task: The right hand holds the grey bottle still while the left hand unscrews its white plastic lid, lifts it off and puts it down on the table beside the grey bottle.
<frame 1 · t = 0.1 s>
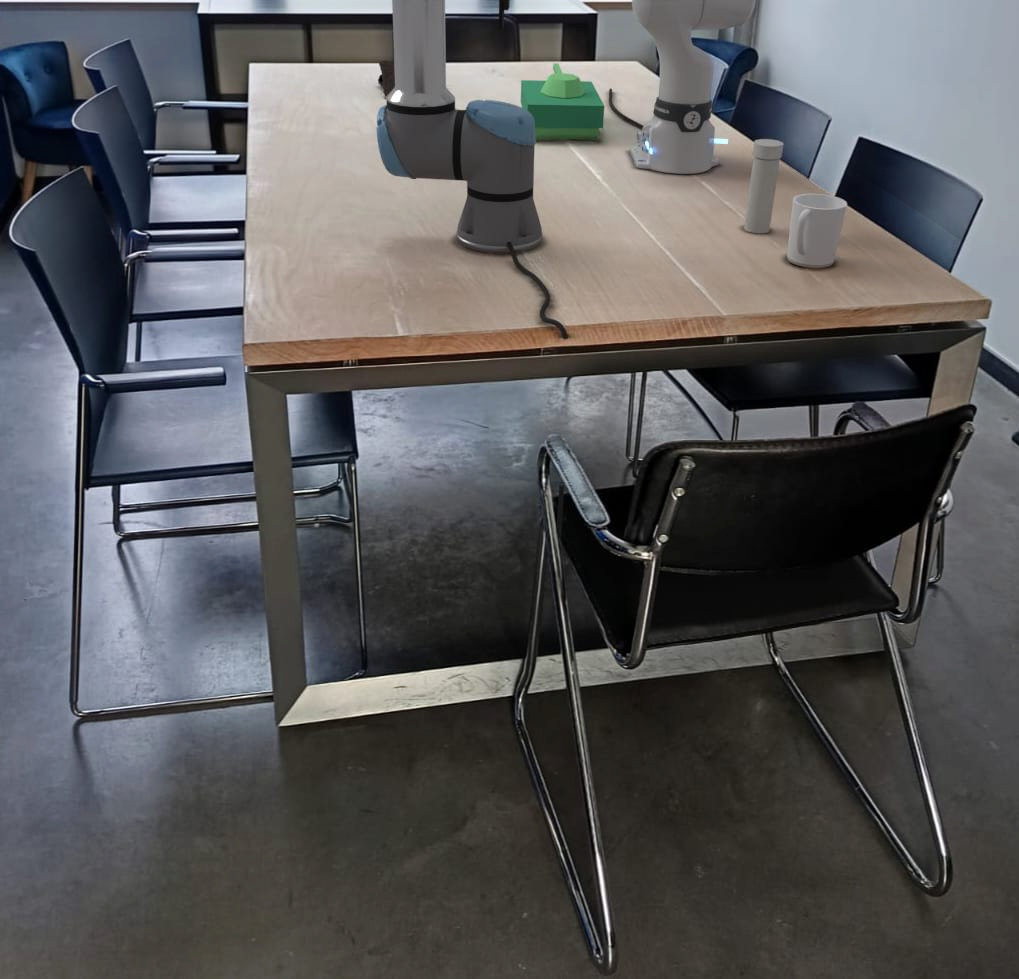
left hand: (468, 26, 224), 28 cm above the table, tool pointing down, fingers open, 13 cm apart
mug: (807, 262, 189), on the table
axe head: (403, 91, 300), on the table
grey bottle: (756, 229, 204), on the table
toy tank: (558, 125, 270), on the table
lid: (768, 144, 196), point 16 cm above the table, screwed on, not yet turned
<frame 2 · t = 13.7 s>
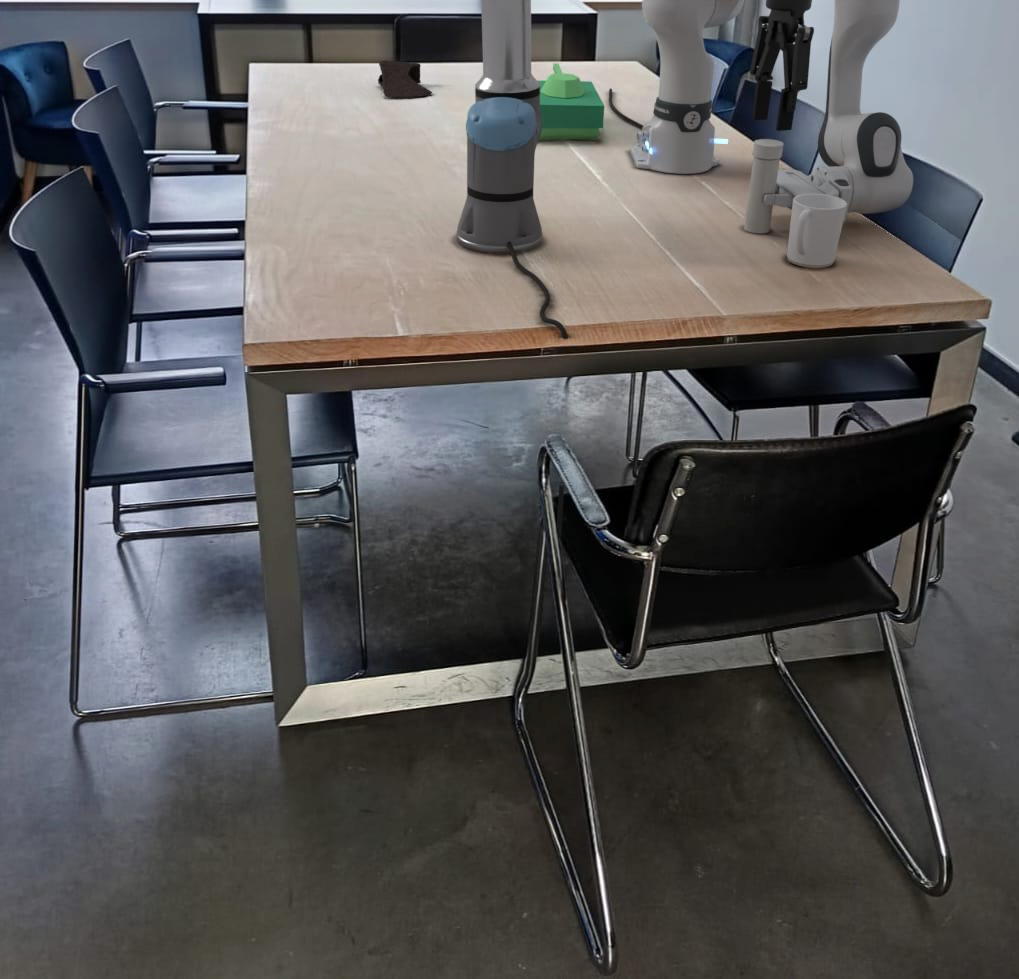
left hand: (771, 124, 194), 19 cm above the table, tool pointing down, fingers open, 7 cm apart
right hand: (757, 194, 200), 7 cm above the table, tool horizontal, fingers closed on grey bottle, 5 cm apart
grey bottle: (756, 229, 204), on the table, touching right hand
everything else where it was.
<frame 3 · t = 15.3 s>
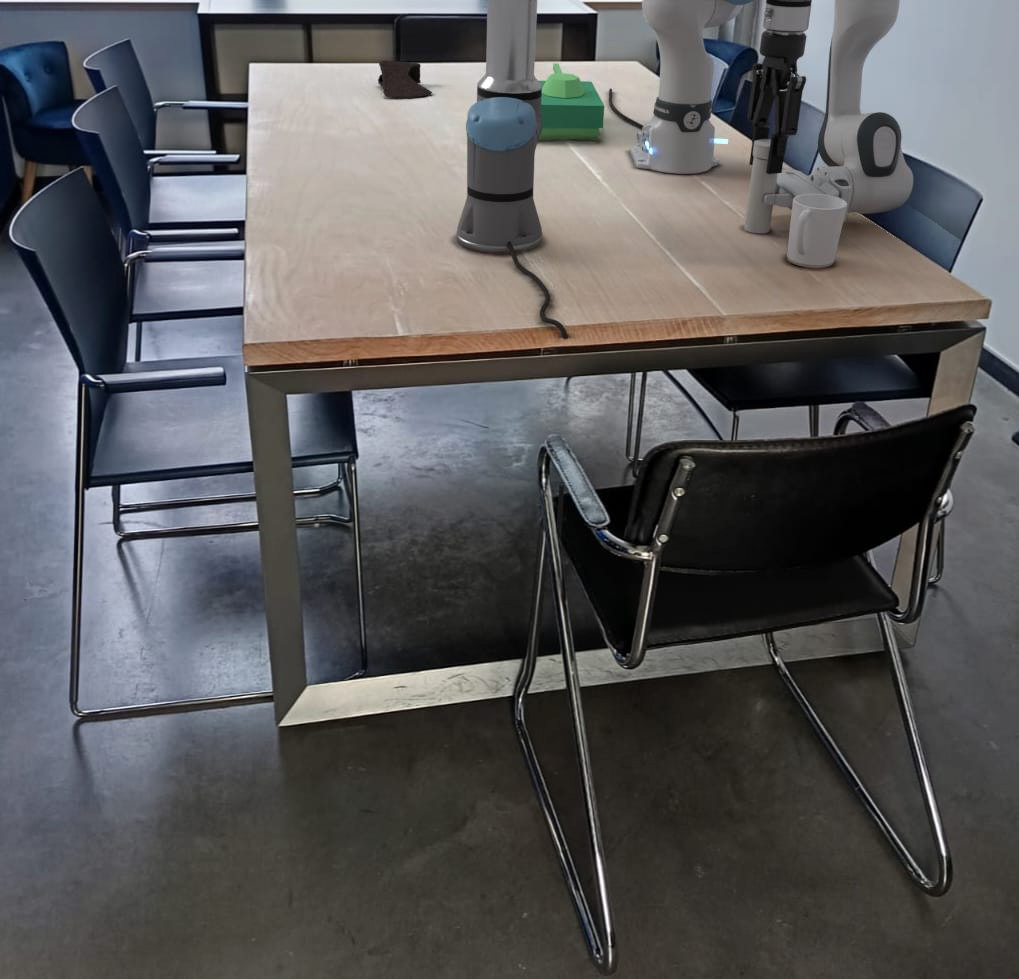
left hand: (765, 168, 198), 11 cm above the table, tool pointing down, fingers closed on lid, 5 cm apart
right hand: (757, 194, 200), 7 cm above the table, tool horizontal, fingers closed on grey bottle, 5 cm apart
grey bottle: (756, 229, 204), on the table, touching right hand
lid: (768, 144, 196), point 16 cm above the table, screwed on, not yet turned, touching left hand
everything else where it was.
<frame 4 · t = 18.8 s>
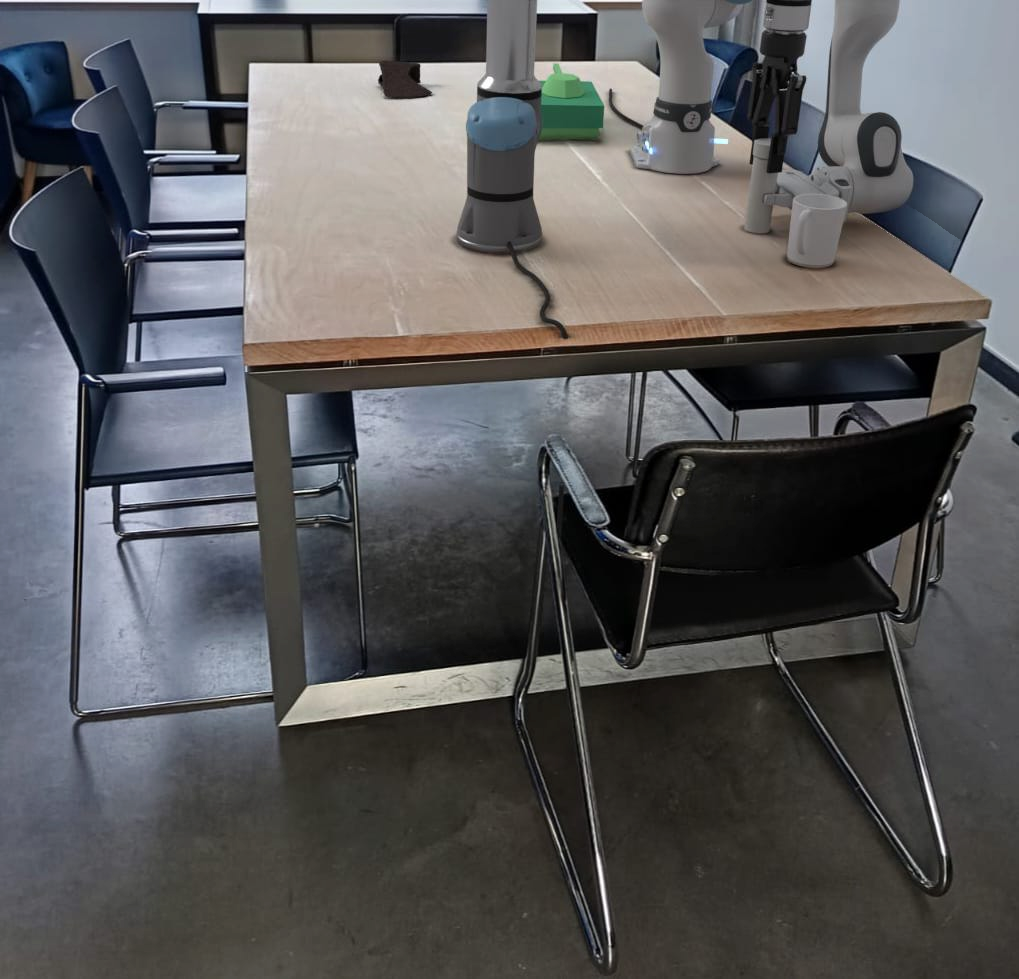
left hand: (765, 167, 198), 11 cm above the table, tool pointing down, fingers closed on lid, 5 cm apart
right hand: (757, 194, 200), 7 cm above the table, tool horizontal, fingers closed on grey bottle, 5 cm apart
grey bottle: (756, 229, 204), on the table, touching right hand
lid: (768, 143, 196), point 16 cm above the table, turned 99° so far, risen 0.1 cm, still on its thread, touching left hand
everything else where it was.
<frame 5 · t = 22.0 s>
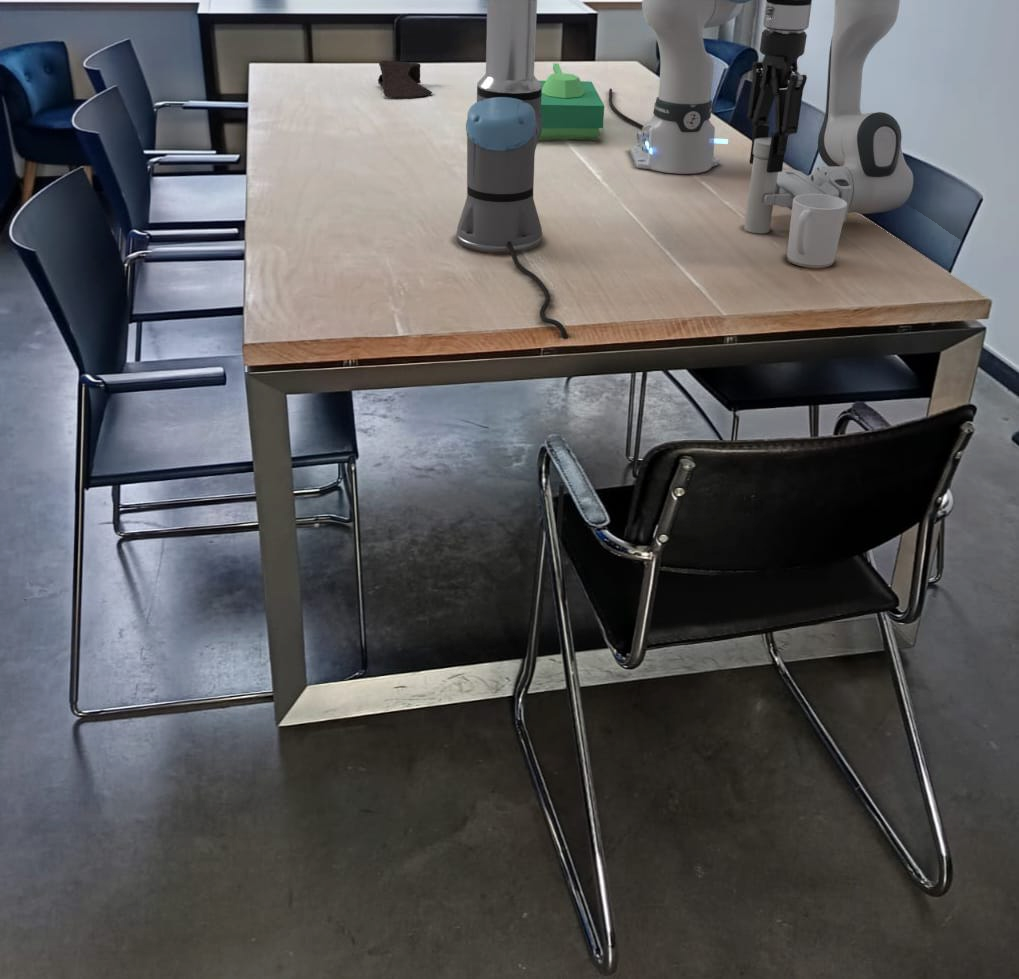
left hand: (765, 167, 198), 12 cm above the table, tool pointing down, fingers closed on lid, 5 cm apart
right hand: (757, 194, 200), 7 cm above the table, tool horizontal, fingers closed on grey bottle, 5 cm apart
grey bottle: (756, 229, 204), on the table, touching right hand
lid: (768, 143, 196), point 16 cm above the table, turned 198° so far, risen 0.3 cm, still on its thread, touching left hand
everything else where it was.
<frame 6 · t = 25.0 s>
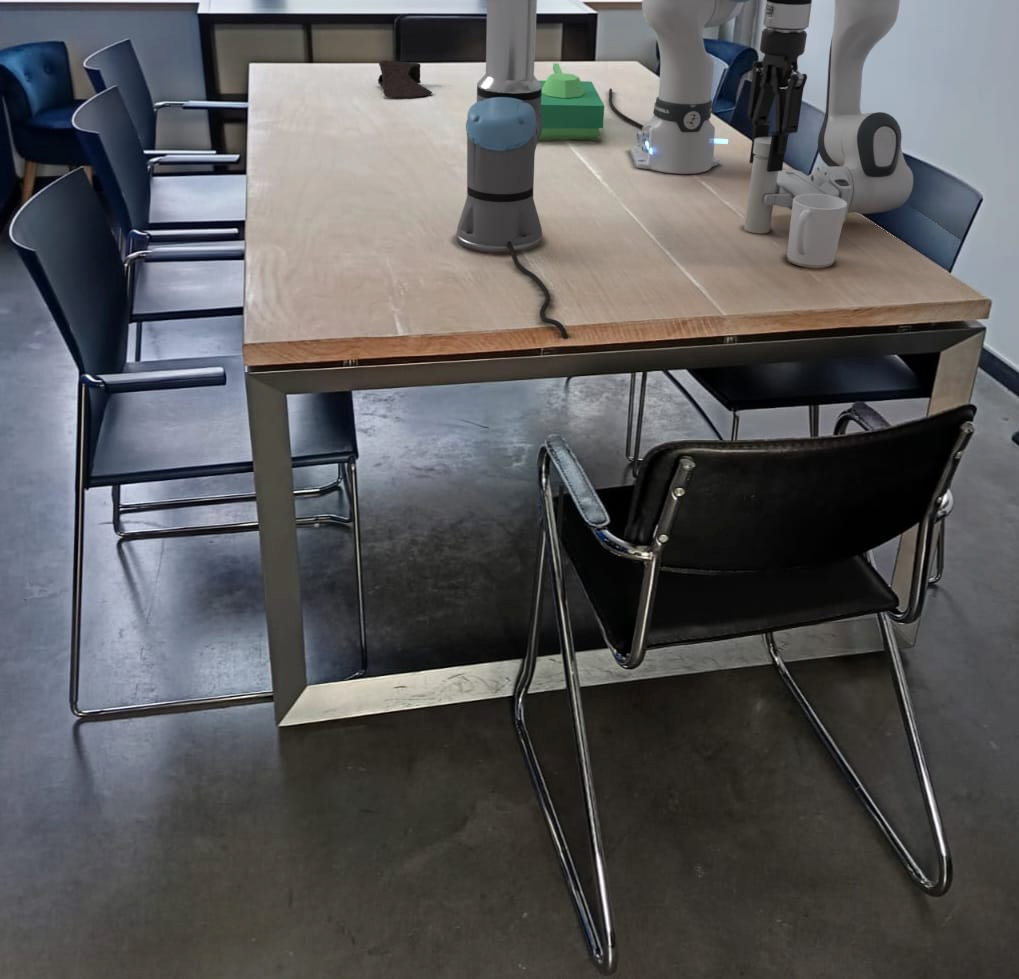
left hand: (765, 166, 198), 12 cm above the table, tool pointing down, fingers closed on lid, 5 cm apart
right hand: (757, 194, 200), 7 cm above the table, tool horizontal, fingers closed on grey bottle, 5 cm apart
grey bottle: (756, 229, 204), on the table, touching right hand
lid: (769, 142, 196), point 16 cm above the table, turned 297° so far, risen 0.4 cm, still on its thread, touching left hand
everything else where it was.
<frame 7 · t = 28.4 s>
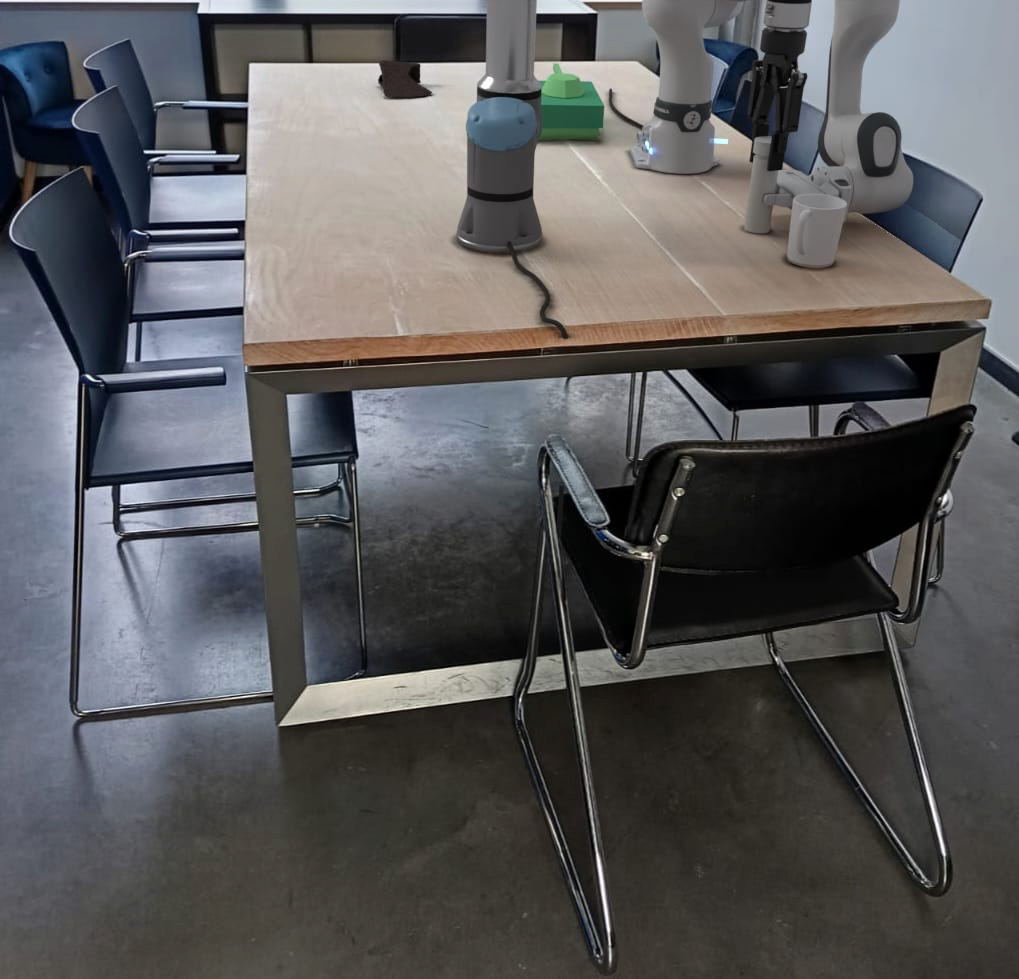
left hand: (765, 165, 198), 12 cm above the table, tool pointing down, fingers closed on lid, 5 cm apart
right hand: (757, 194, 200), 7 cm above the table, tool horizontal, fingers closed on grey bottle, 5 cm apart
grey bottle: (756, 229, 204), on the table, touching right hand
lid: (769, 141, 196), point 16 cm above the table, turned 395° so far, risen 0.5 cm, still on its thread, touching left hand
everything else where it was.
when the left hand's fingers open (0 cm above the table, at t = 35.1 s): lid drops 2 cm, point 2 cm above the table.
when the right hand's fingers open (7 cm above the table, at t = 35.8 s): grey bottle stays where it is, on the table.
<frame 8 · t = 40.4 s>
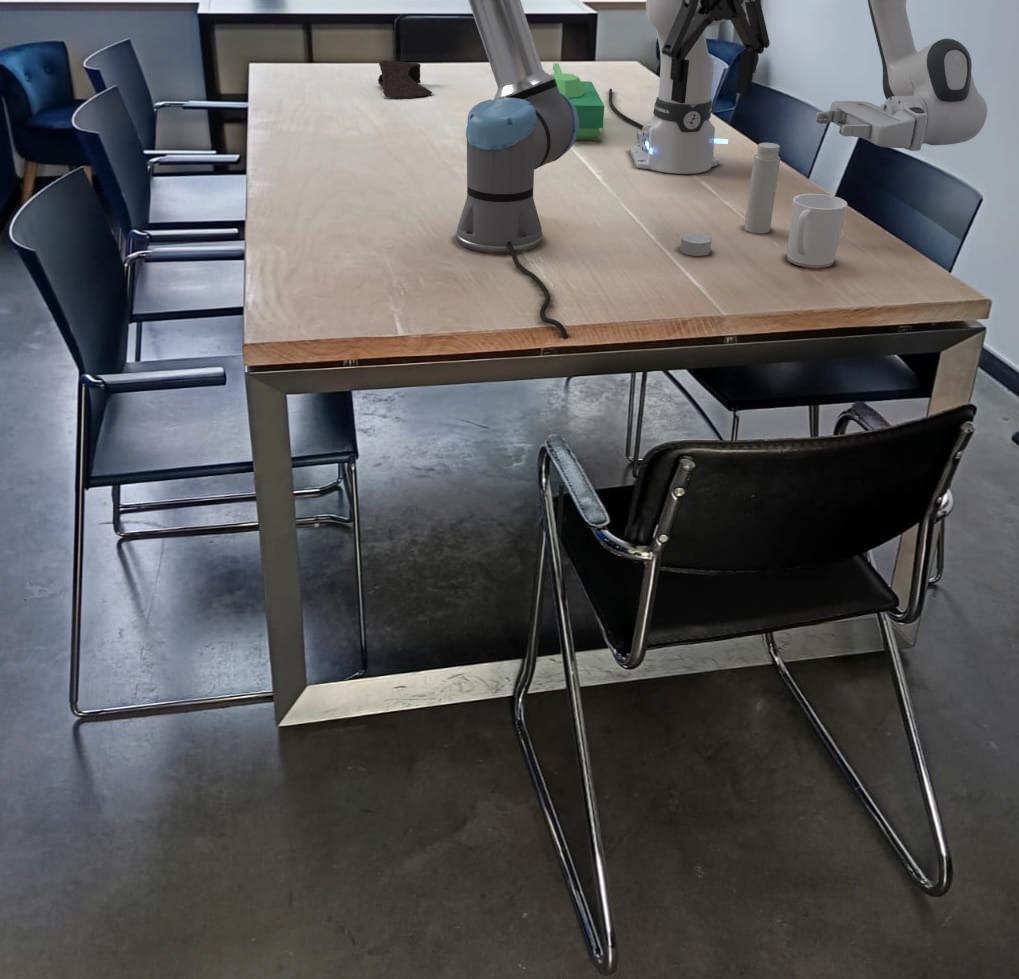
left hand: (711, 98, 180), 26 cm above the table, tool pointing down, fingers open, 13 cm apart
right hand: (829, 123, 196), 19 cm above the table, tool horizontal, fingers open, 8 cm apart
grey bottle: (757, 229, 204), on the table
lid: (696, 240, 192), point 2 cm above the table, off its thread
everything else where it was.
at the end: lid came off its thread; lid point 2.0 cm above the table; the left hand is holding nothing; the right hand is holding nothing; grey bottle tilted 0°; grey bottle moved 0.1 cm from its start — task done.
